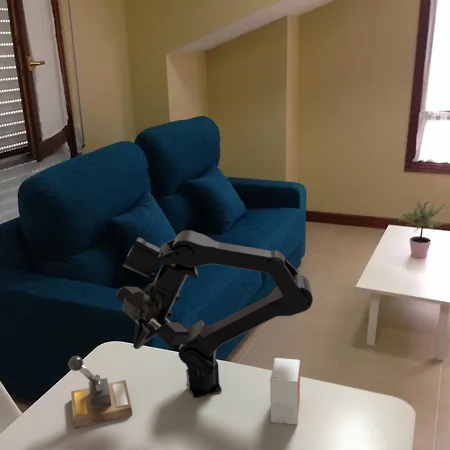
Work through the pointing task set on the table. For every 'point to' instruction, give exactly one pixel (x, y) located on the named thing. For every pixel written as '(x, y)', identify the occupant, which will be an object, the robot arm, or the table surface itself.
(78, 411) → the switch unit
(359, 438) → the table surface
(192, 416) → the table surface
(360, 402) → the table surface
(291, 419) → the small box
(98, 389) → the lever
